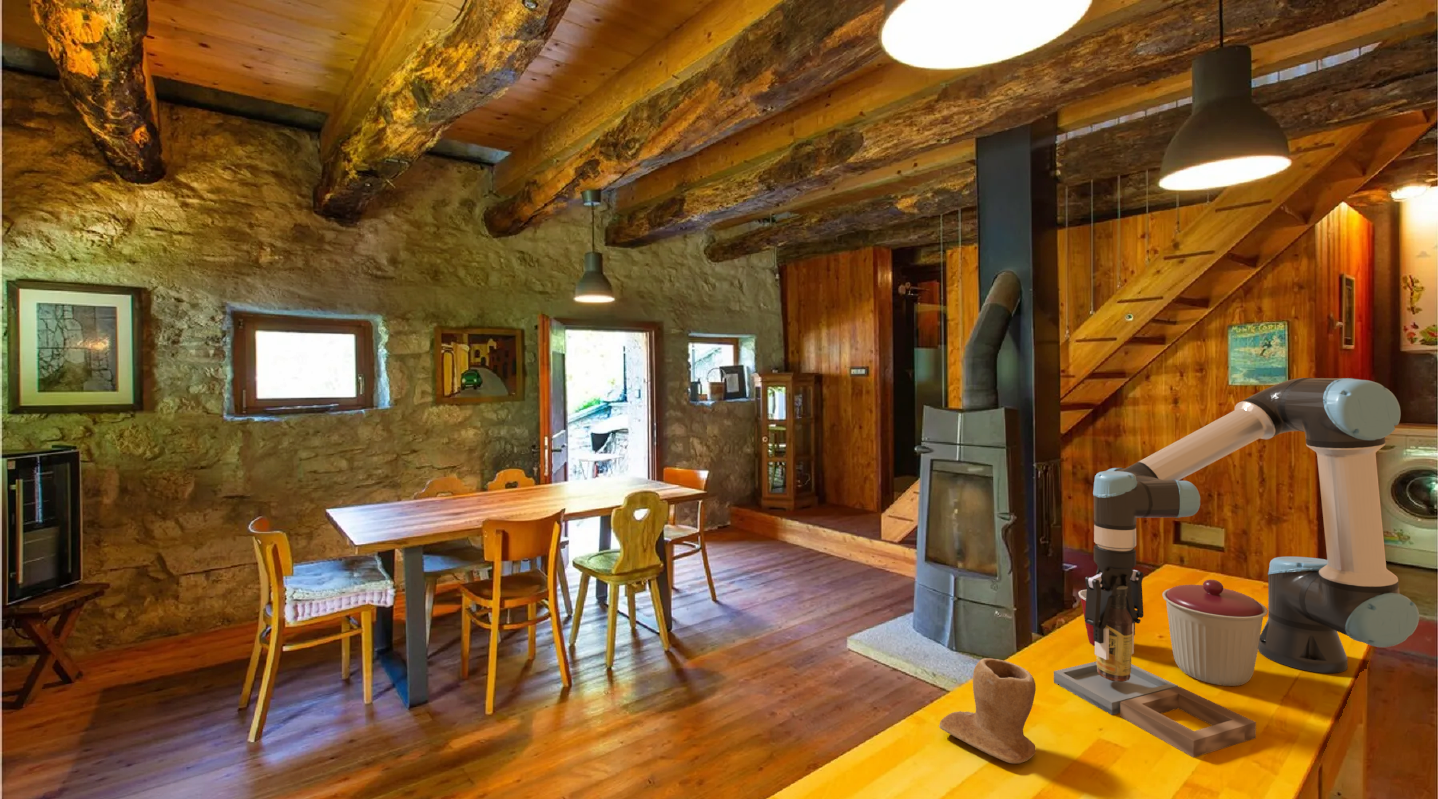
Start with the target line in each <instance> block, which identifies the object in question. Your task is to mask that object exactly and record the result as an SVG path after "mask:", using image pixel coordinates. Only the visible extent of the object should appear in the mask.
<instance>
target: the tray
mask: <svg viewBox="0 0 1438 799" xmlns="http://www.w3.org/2000/svg"><path fill="white" fill-rule="evenodd" d="M1096 662H1097V660H1095V661H1093V662H1088V663H1084V664H1079V665H1075V666H1071V667H1066V668H1062V669H1058V670H1054V671H1053V683H1055V684H1056V685H1058V684H1059V685H1060V686H1059V685H1058V686H1059V687H1061V688H1063V689H1065V690H1067V691H1068V692H1070V693H1072V694H1074V695H1075V696H1077V697H1079V698H1081V699H1083V700H1084V701H1087V703H1089V704H1091V705H1093V706H1095V707H1096V708H1098V709H1100V710H1102V711H1104V712H1106V713H1107V712H1108V714H1109V715H1111V716H1115V715H1118V714H1120V702H1121V701H1125V700H1129V699H1133V698H1137V697H1141V696H1144V695H1148V694H1152V693H1156V692H1160V691H1164V690H1167V689H1171V688H1175V687H1179V685H1178V684H1175V683H1173V682H1171V681H1169V680H1167V679H1164V678H1162V677H1160V676H1158V675H1156V674H1154V673H1152V672H1149V671H1147V670H1145V669H1143V668H1140V667H1139V666H1137V665H1134V664H1133V663H1131V673H1130V679H1129V680H1127V681H1123V682H1118V681H1111V680H1108V679H1106V678H1104V677H1102V676H1100V675H1099V674H1098V671H1097V665H1096Z"/></svg>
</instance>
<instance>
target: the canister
mask: <svg viewBox="0 0 1438 799" xmlns="http://www.w3.org/2000/svg"><path fill="white" fill-rule="evenodd" d="M1162 597H1163V600H1164V601H1166V611H1167V619H1168V625H1169V627H1168V628H1169V634H1170V635H1169V636H1170V642H1171V648H1172V654H1173V660H1174V661H1175V664H1176V666H1178V668H1179V669H1180V670H1181V671H1182V672H1183V673H1184V674H1186V675H1188V676H1189V677H1192V678H1193V679H1196V680H1199V681H1202V682H1205V683H1208V684H1209V683H1210V684H1212V685H1217V686H1227V687H1230V686H1232V687H1235V686H1236V687H1237V686H1242V685H1244V684H1247V683H1248V682H1249V681H1250V680H1251V678H1252V677H1253V675H1254V672H1255V667H1256V662H1257V657H1258V652H1259V650H1258V646H1259V640H1260V635H1261V633H1262V626H1263V619H1264V617H1266V616H1267V614H1268V609H1267V607H1266V606H1265V605H1264V604H1262V603H1261V602H1259V601H1257V600H1256V599H1255V598H1253V597H1251V596H1249V595H1247V594H1244V593H1242V592H1238V591H1235V590H1232V589H1228V588H1224V585H1223V584H1222V583H1221V581H1219V580H1216V579H1207V580H1204V581H1203V583H1202V584H1183V585H1182V584H1181V585H1176V586H1173V587H1171V588H1167V589H1165V590H1164V591H1163V592H1162Z"/></svg>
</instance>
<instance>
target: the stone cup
mask: <svg viewBox="0 0 1438 799" xmlns="http://www.w3.org/2000/svg"><path fill="white" fill-rule="evenodd" d="M972 674H973V677H972V691H973V697H974V698H973V699H974V702H975V712H971V711H961V710H960V711H955V712H954V711H953V712H951V713H948V714H947V715H945V716H944V717H943V718H942V719H941V720H940V721H939V725H938V726H939V729H941V730H942V731H944V732H945V733H946V734H949V735H950V736H952V737H954V738H957V739H959V740H960V741H962V742H964V743H966V744H967V745H969V746H971V747H973V748H975V749H977V750H979V751H981V752H983V753H985V754H986V755H987V754H988V755H989V756H992V757H994V758H996V759H997V760H998V759H999V760H1001V761H1003V762H1006V763H1009V764H1021V763H1024V762H1025V763H1026V762H1027V761H1029V760H1030V759H1031V758H1032V757H1034V755H1035V754H1036V744H1035V743H1034V742H1032V740H1030V739H1029V738H1028V737H1027V736H1026V735H1025V734H1024V728H1025V724H1026V721H1027V720H1028V717H1029V715H1030V714H1031V710H1032V708H1033V706H1034V701H1035V696H1036V690H1037V688H1036V687H1037V686H1036V681H1035V679H1034V676H1033V675H1032V674H1031V673H1030V672H1029V671H1028V670H1027V669H1025V668H1023V667H1022V666H1020V665H1017V664H1015V663H1012V662H1010V661H1006V660H1002V659H997V658H989V657H988V658H986V657H985V658H982V659H980V660H979V661H978V662H976V665H975V667H974V670H973V673H972Z"/></svg>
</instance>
